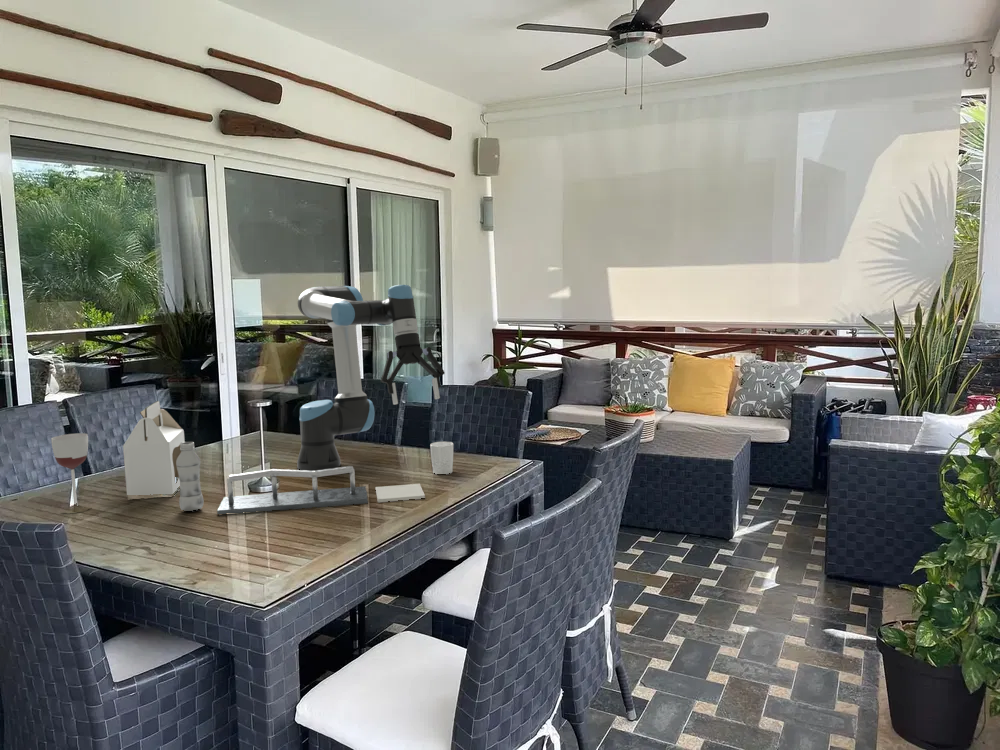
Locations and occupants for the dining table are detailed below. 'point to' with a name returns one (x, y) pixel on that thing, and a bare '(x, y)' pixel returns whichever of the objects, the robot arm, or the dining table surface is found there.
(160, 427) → the gable box
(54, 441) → the wineglass
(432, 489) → the dining table surface
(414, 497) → the pad
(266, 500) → the grey platform with railing
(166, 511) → the dining table surface
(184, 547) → the dining table surface
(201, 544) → the dining table surface
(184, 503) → the plastic bottle
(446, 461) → the white cup
